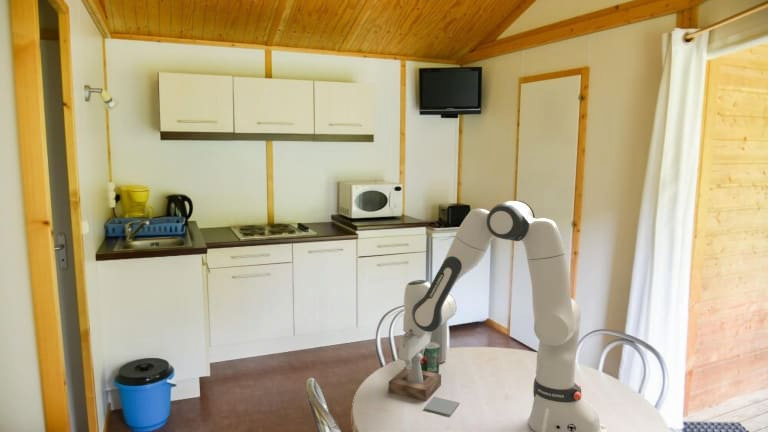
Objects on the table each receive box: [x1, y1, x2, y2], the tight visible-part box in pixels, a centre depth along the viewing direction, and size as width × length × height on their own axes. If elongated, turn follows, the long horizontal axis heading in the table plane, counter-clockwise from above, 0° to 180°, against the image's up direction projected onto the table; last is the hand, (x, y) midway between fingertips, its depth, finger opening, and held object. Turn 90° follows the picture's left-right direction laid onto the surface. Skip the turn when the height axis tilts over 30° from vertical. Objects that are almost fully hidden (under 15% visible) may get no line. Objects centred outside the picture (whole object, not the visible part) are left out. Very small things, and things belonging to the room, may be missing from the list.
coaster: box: [423, 396, 460, 417], centre depth 165 cm, size 9×9×1 cm
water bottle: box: [430, 320, 448, 364], centre depth 202 cm, size 9×8×25 cm
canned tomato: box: [420, 341, 440, 374], centre depth 191 cm, size 8×8×11 cm
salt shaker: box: [407, 353, 424, 384], centre depth 177 cm, size 6×6×13 cm
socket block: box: [388, 366, 442, 402], centre depth 177 cm, size 14×14×4 cm
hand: (414, 363), depth 177 cm, fingers open, 8 cm apart
